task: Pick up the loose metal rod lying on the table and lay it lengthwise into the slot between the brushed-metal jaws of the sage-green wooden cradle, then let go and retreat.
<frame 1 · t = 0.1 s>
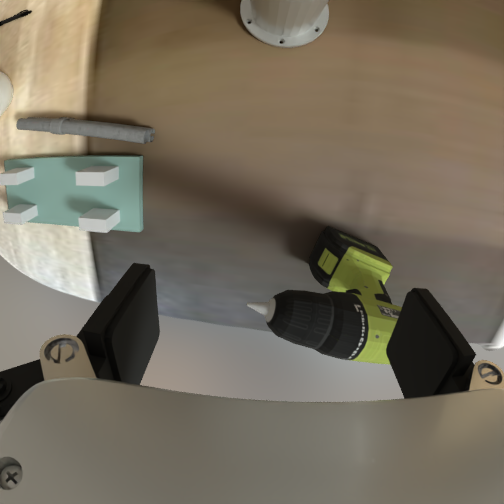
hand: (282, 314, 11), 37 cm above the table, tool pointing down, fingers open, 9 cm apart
jaw cradle: (66, 189, 46), on the table
pen: (10, 20, 32), on the table
metal rod assembly: (85, 125, 42), on the table
lidded jar: (4, 95, 39), on the table
cordless drill: (321, 246, 50), on the table
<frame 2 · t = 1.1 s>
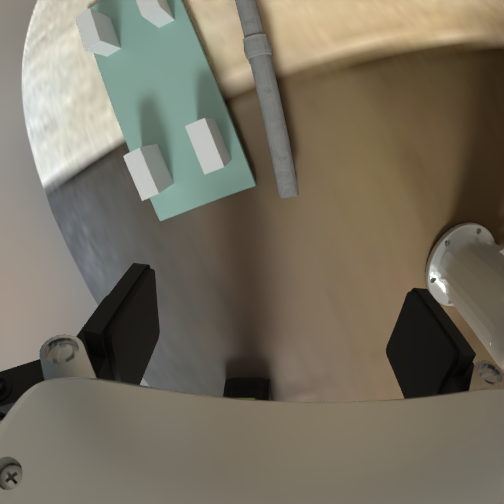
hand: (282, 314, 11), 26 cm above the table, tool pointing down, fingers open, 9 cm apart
jaw cradle: (161, 84, 31), on the table
metal rod assembly: (264, 78, 31), on the table
cordless drill: (248, 381, 48), on the table
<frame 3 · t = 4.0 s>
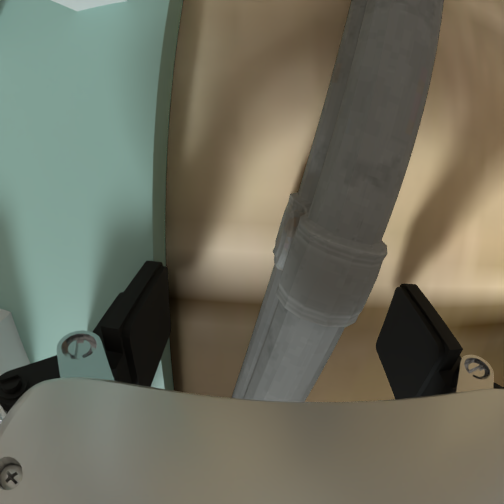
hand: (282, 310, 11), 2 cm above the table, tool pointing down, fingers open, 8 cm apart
jaw cradle: (40, 177, 11), on the table
metal rod assembly: (288, 287, 13), on the table
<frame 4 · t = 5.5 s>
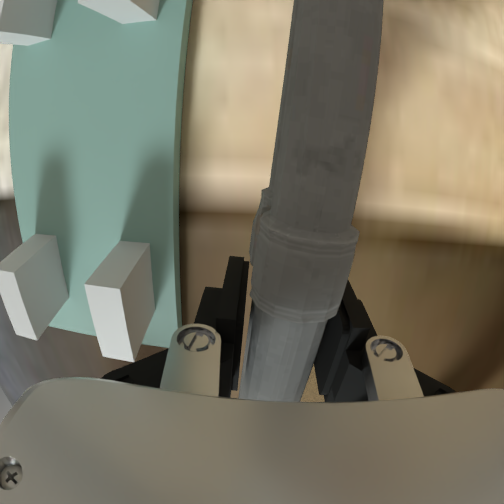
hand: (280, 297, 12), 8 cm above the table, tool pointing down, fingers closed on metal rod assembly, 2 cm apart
jaw cradle: (89, 133, 16), on the table
metal rod assembly: (279, 283, 13), point 7 cm above the table, touching gripper
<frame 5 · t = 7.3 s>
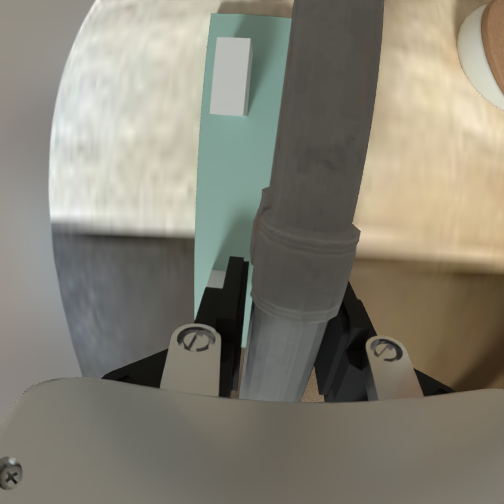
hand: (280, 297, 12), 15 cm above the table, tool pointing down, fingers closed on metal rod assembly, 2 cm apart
jaw cradle: (271, 197, 26), on the table
metal rod assembly: (279, 283, 13), point 14 cm above the table, touching gripper
lidded jar: (480, 62, 19), on the table
when the fingers open (4 cm above the table, at t = 9.8 s): metal rod assembly drops 1 cm, resting on jaw cradle.
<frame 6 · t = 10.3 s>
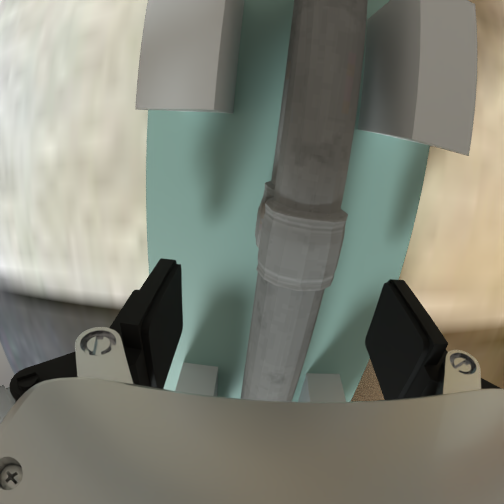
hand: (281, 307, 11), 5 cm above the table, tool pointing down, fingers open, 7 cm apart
jaw cradle: (276, 254, 15), on the table
metal rod assembly: (280, 268, 14), point 1 cm above the table, touching jaw cradle
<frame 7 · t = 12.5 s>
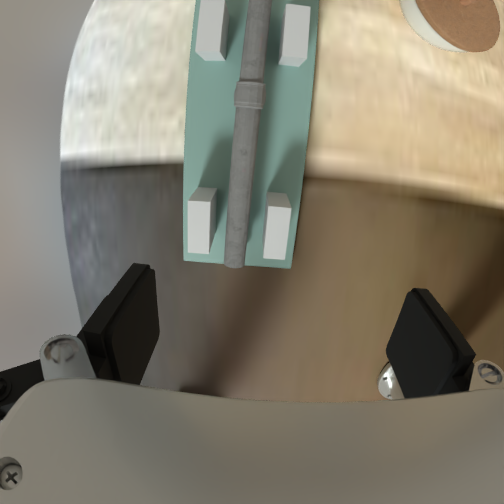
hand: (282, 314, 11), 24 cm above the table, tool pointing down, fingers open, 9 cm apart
jaw cradle: (247, 125, 30), on the table
metal rod assembly: (247, 126, 29), point 1 cm above the table, touching jaw cradle
lidded jar: (425, 16, 23), on the table
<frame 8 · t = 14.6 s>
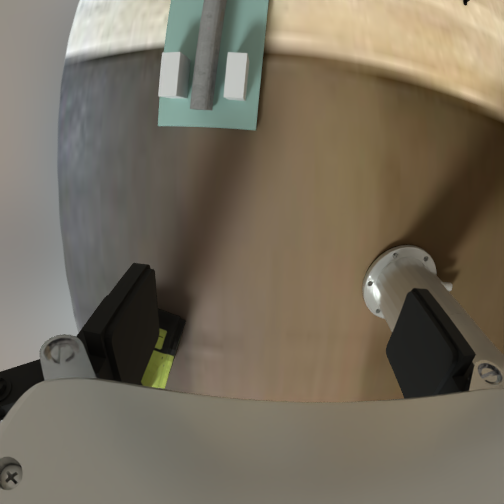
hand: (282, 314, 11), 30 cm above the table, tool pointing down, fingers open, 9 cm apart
jaw cradle: (218, 16, 30), on the table
metal rod assembly: (217, 14, 29), point 1 cm above the table, touching jaw cradle
cordless drill: (164, 315, 48), on the table
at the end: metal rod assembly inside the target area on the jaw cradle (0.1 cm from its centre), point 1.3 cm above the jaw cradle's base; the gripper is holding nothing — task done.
